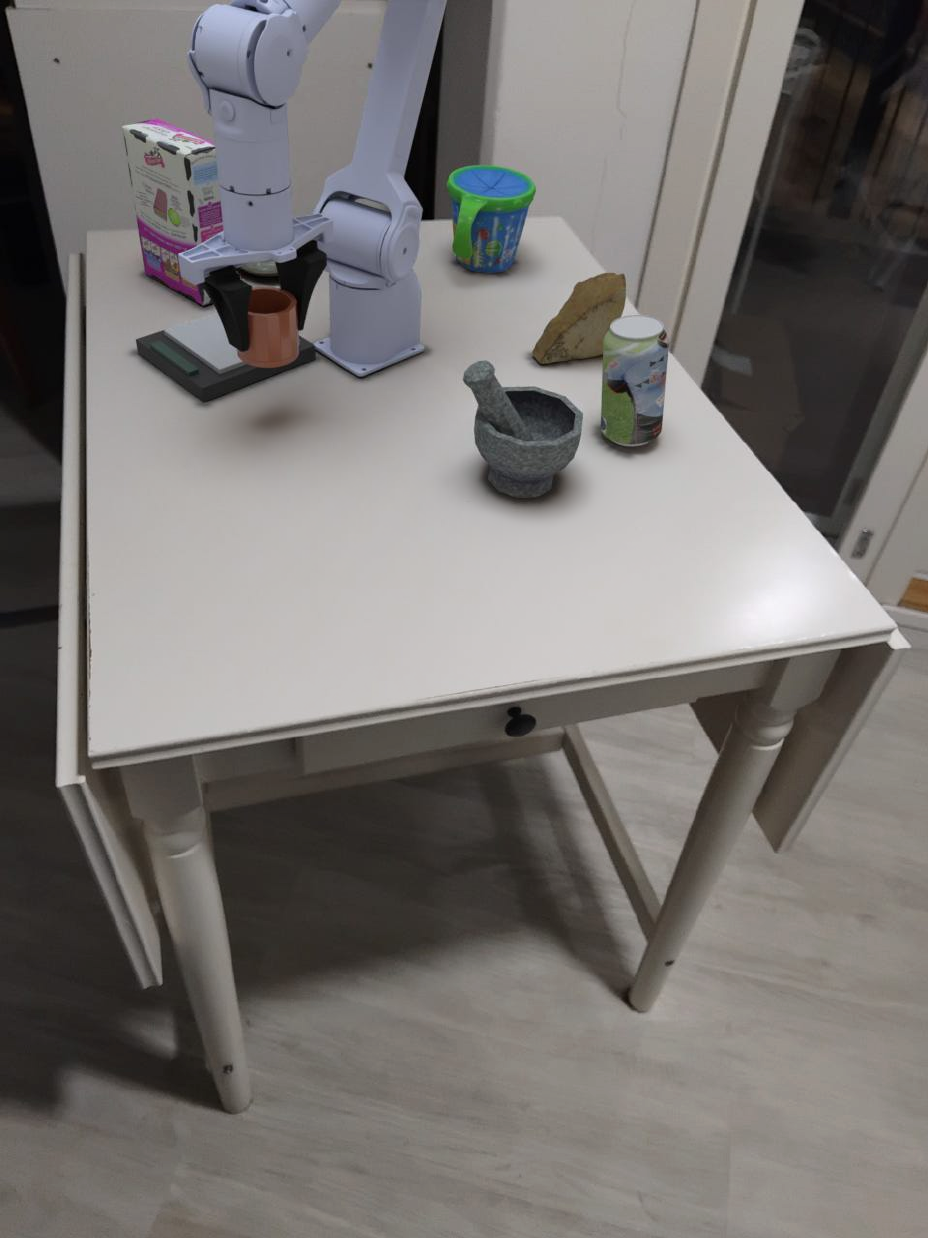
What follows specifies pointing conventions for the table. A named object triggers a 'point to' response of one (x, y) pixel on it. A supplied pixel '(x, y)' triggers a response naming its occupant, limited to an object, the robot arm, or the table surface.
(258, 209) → the robot arm
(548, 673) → the table surface
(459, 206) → the snack cup
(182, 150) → the candy bar box
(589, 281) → the rock
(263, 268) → the lid
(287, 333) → the terracotta cup
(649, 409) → the beverage can
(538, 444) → the mortar and pestle
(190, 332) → the scale
